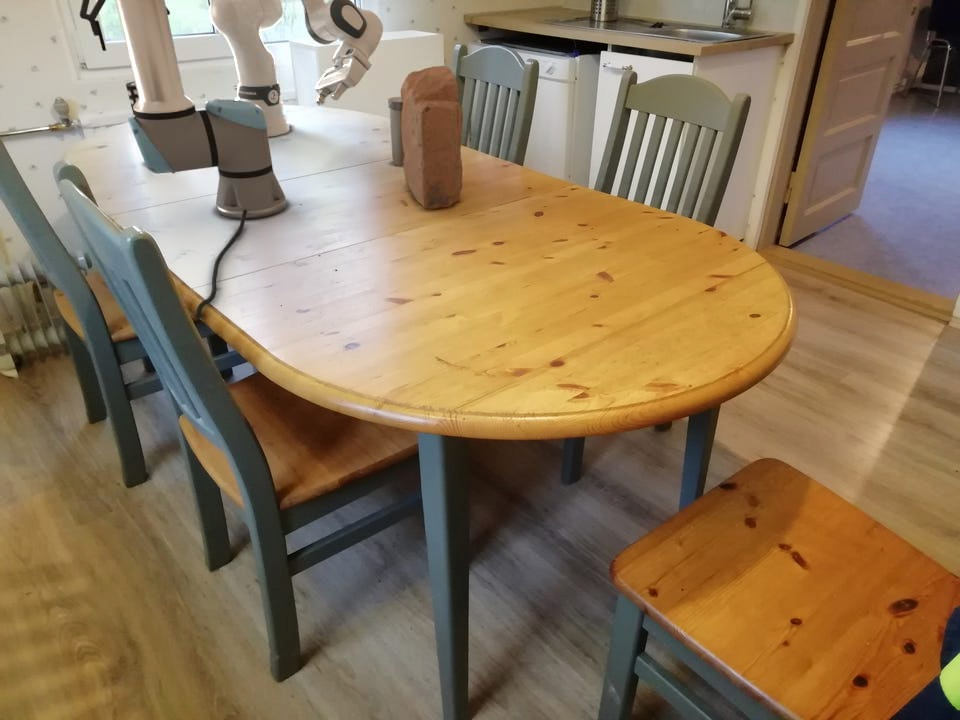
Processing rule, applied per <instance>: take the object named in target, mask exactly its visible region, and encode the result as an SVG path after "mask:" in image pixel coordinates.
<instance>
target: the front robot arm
mask: <svg viewBox="0 0 960 720" xmlns="http://www.w3.org/2000/svg"><path fill="white" fill-rule="evenodd" d="M106 1H107V0H96V2H95V4H94V6H93V8H92V9H91V11H90V12H89V13H88V9H89V5H90V0H82V1H81V5H80V10H79V17H80V19H82V20H86V21H88V22H89V24H90V28H91V31H92V34H93V36H94V37H97V36H98V39H99V43H100V46H101V50H102V51H103V52H107V48H106V44H105V40H104V37H103V32H102V28H101V25H100V22H99V21H100V20H97V17H98V15H99V14H100V12H101V10H102V8H103V7H104V5H105V4H106ZM114 2H115V6H116V10H117V14H118V19H119V23H120V26H121V31H122V35H123V38H124V42H125V46H126V51H127V55H128V59H129V63H130V67H131V72H132V75H133V76H132V77H133V79H134V80H133V81H135V84H136V88H137V92H138V96H139V98H138V100H137V102H136V103H135V104H134V106H133V109H134V113H135V116H134V115H131V116H129V117H128V119H127V121H128V123H129V126H130V128H131V131H132V134H133V137H134V139H135V142H136V144H137V146H138V149H139V151H140V153H141V156H142V159H143V161H144V163H145V165H146V168H147V169H148V170H149V171H150V172H151V173H153V174H158V175H161V174H170V173H171V174H176V173H179V172H186V171H187V172H188V171H195V170H201V169H202V170H203V169H208V168H215V167H217V169H218V170H217V172H218V185H217V193H216V201H215V206H216V210H217V213H218V214H219V215H221V216H223V217H225V218H229V219H236V220H240V223H239V226H238V228H237V231H236V232H235V233H234V234H233V236H232V237H231V238H230V240H229V241H228V243H226V245H225V246H224V247H223V248H222V249H221V251H220V252H219V254H218V255H217V258H216V259H215V262H214V265H213V270H212V276H211V291H210V294H209V296H208V297H207V298H206V299H204V300H202V301H201V302H200V303H198V305H197V308H196V310H195V319H197V320H198V319H200V318H201V314H202V311H203V309H204V307H205V306H206V305H208V304H210V303H211V302H212V301H214V299H215V297H216V294H217V280H218V279H217V278H218V272H219V267H220V264H221V261H222V260H223V257H224V256H225V254H226V253H227V252H228V251H229V249H230V248H231V247H232V246H233V244H234V243H235V241H236V240H237V239H238V237H239V236H240V235H241V233H242V231H243V229H244V226H245V222H246V221H245V220H253V219H260V218H261V219H262V218H265V217H266V218H267V217H270V216H274V215H276V214H278V213H280V212H282V211H283V210H285V209H286V207H287V199H286V194H285V193H284V191H283V189H282V187H281V184H280V182H279V180H278V179H277V177H276V175H275V172H274V167H273V160H272V154H271V147H270V140H269V137H268V133H267V129H268V127H267V125H266V121H265V116H264V112H263V110H262V109H261V108H260V107H259V106H257V105H256V104H253V103H250V102H245V101H239V100H235V99H222V98H221V99H220V98H217V99H218V100H214V99H212V100H211V99H209V100H207V101H206V102H205V104H204V109H199V110H197V109H196V104H195V102H194V101H193V100H192V99H191V98H190V97H188V96H186V94H185V90H184V85H183V81H182V75H181V72H180V67H179V62H178V57H177V53H176V48H175V43H174V38H173V33H172V29H171V23H170V20H169V19H170V18H169V16H170V14H171V11H170V10H169V9H168V7H167V6H166V0H114Z"/></svg>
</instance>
